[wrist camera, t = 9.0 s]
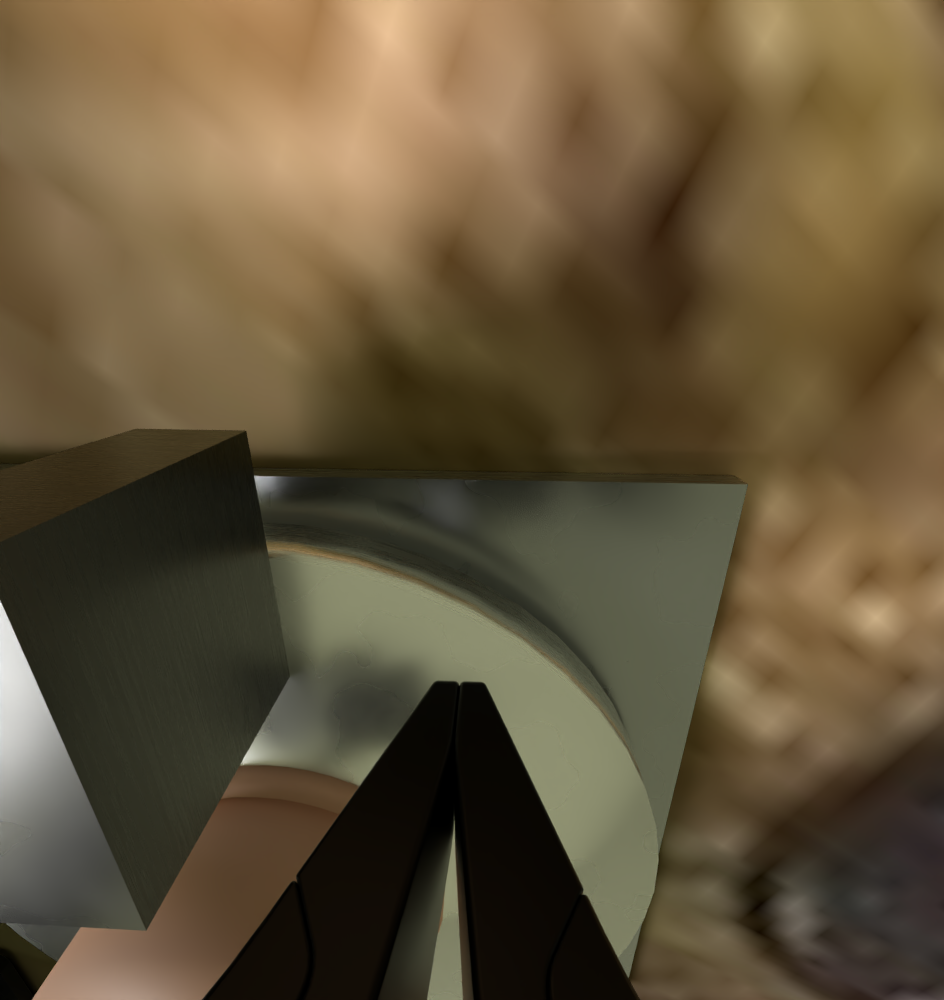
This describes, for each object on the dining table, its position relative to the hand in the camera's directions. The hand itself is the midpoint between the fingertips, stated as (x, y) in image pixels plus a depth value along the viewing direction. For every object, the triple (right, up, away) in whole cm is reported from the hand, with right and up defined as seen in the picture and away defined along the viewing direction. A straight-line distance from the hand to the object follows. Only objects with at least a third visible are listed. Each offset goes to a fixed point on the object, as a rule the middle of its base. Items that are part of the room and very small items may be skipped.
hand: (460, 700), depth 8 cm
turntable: (-5, -5, +6) cm, 9 cm away
